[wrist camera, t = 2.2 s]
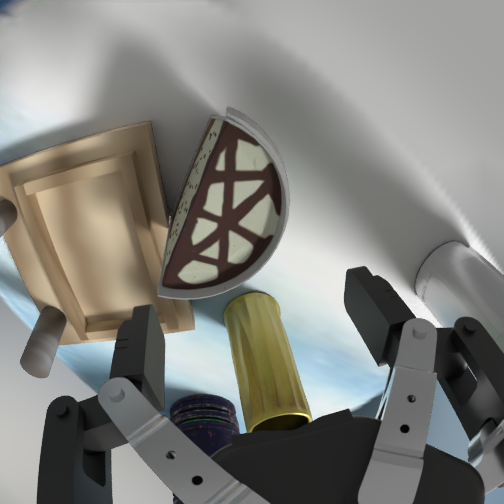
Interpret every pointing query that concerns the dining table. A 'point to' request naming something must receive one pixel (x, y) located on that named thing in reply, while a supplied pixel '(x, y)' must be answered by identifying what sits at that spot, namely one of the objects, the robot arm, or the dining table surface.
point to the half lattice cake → (225, 211)
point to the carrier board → (88, 239)
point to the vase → (265, 365)
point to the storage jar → (205, 422)
